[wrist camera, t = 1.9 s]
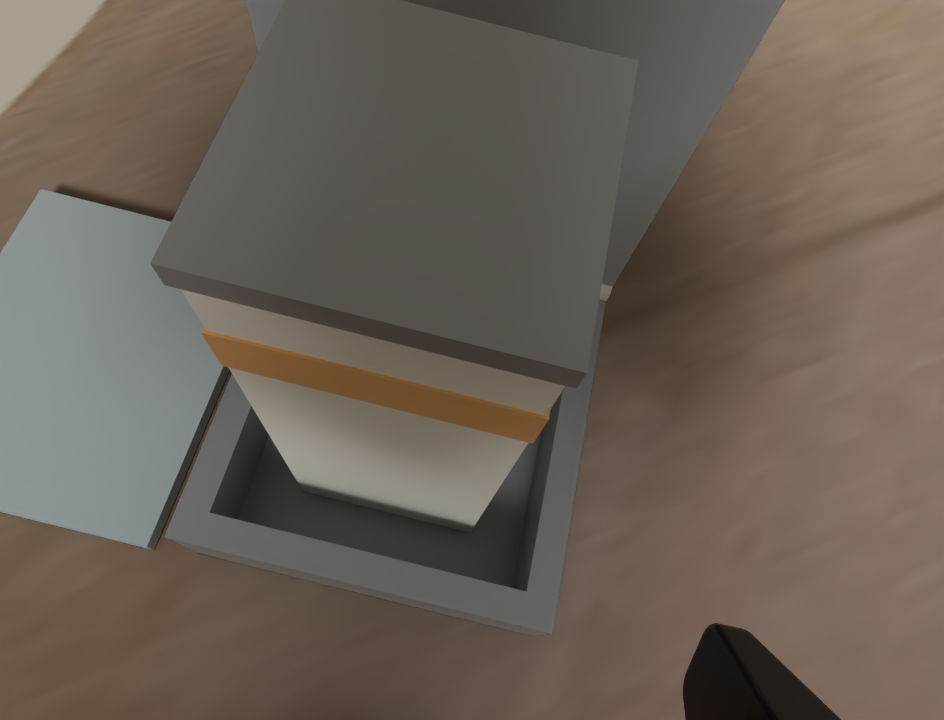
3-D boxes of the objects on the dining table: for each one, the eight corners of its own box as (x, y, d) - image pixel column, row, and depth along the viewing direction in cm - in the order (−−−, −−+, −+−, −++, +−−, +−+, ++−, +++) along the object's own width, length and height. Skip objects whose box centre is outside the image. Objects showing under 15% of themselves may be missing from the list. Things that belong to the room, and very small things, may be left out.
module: (472, 537, 19) (587, 372, 8) (298, 493, 19) (150, 262, 8) (507, 376, 21) (638, 61, 10) (351, 337, 21) (298, -26, 10)
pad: (154, 550, 18) (147, 547, 18) (-125, 480, 18) (-141, 475, 18) (276, 257, 22) (273, 247, 22) (49, 200, 22) (41, 188, 22)
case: (529, 635, 18) (769, 617, 7) (198, 553, 18) (-162, 386, 7) (584, 319, 23) (789, -38, 11) (316, 251, 23) (228, -181, 11)
